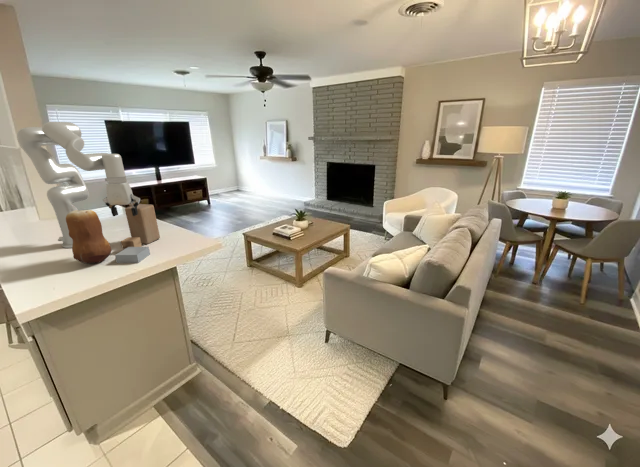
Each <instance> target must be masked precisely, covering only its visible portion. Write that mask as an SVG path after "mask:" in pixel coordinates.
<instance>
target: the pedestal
mask: <svg viewBox="0 0 640 467" xmlns="http://www.w3.org/2000/svg"><path fill="white" fill-rule="evenodd" d="M150 255H151V252H150V247H149V246H142V247H127V248H126V249H124V250H123V249H122V250H120V251H119V252H117V253H116V254H115V255H114V257H115V261H116V263H117V264H132V263H133V264H138V263H140V262H142V261H143V260H144V259H145V258H147V257H148V256H150Z"/></svg>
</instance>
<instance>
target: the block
mask: <svg viewBox="0 0 640 467" xmlns="http://www.w3.org/2000/svg"><path fill="white" fill-rule="evenodd" d="M131 208H132V207H131V206H127V207H125V208H124V212H125V216H126V219H127V221H126V222H127V225H128V228H129V233H130V237H140V240H141V244H143V245H149V244H151V243H153V242H156V241H157V240H160V239H161V236H160V231H159V224H158V221H157V216H156V211H155V207H154V204H148V203H147V204H142V203H139V205H138V206H137V211H138V215H136V216H133V214H132V210H131Z"/></svg>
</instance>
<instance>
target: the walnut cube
mask: <svg viewBox="0 0 640 467" xmlns="http://www.w3.org/2000/svg"><path fill="white" fill-rule="evenodd" d="M120 244H121V247H122V250H124V249H126V248H127V247H143V246H142V244H141V240H140V237H131V236H128V237H126V238H125V239H122V240H121V241H120Z"/></svg>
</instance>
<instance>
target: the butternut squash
mask: <svg viewBox="0 0 640 467" xmlns="http://www.w3.org/2000/svg"><path fill="white" fill-rule="evenodd" d="M100 220H101V219H100V218H99V215H98V213H97V212H96V211H95V210H92V209H84V210H83V209H81V210H79V209H78V210H75V211H72V212H69V213H68V214H67V216H66V223H67V227H68V230H69V236H70V237H71V238H72V240H73V245H72V248H71V250H72V255H73V259H74V260H76V261H78V262H80V263H82V264H100V263H101V262H102V261H103V262H104V261H105V260H106V259H107V258H108V257H109V256H110V255H111V252H112V247H111V245H110V242H109V240H107V238H105V236H104V234H103V224H102V223H101V221H100ZM103 262H102V263H103Z"/></svg>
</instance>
